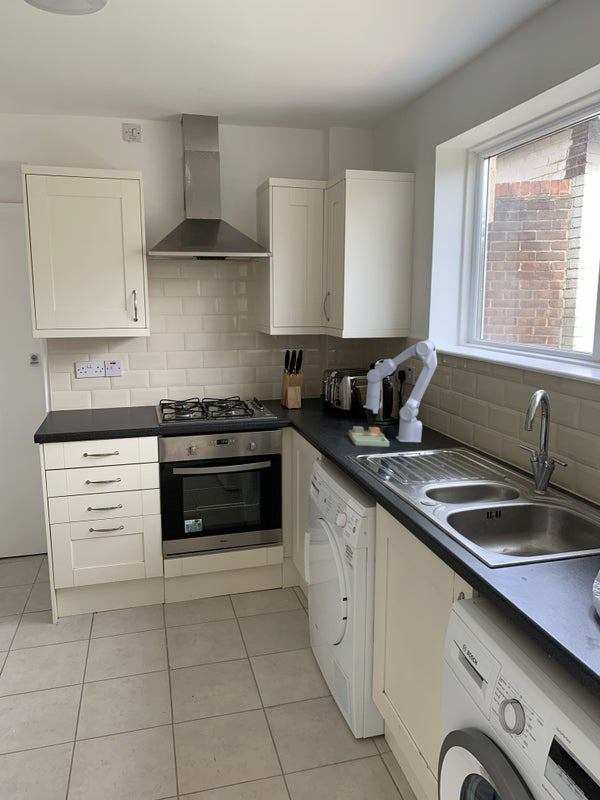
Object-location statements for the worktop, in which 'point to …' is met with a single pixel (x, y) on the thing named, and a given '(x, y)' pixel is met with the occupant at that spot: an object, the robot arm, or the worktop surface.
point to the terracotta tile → (374, 430)
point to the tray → (370, 441)
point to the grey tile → (358, 429)
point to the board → (364, 434)
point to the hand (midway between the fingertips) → (370, 426)
